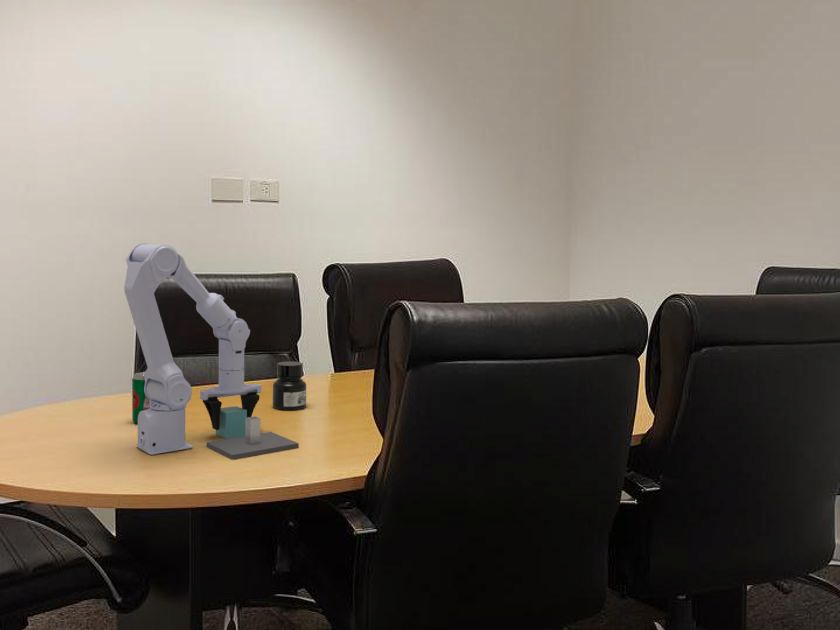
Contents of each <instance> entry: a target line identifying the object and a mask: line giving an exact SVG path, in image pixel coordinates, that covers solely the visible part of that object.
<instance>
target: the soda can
mask: <svg viewBox="0 0 840 630" xmlns="http://www.w3.org/2000/svg"><path fill="white" fill-rule="evenodd" d="M144 372H145V371H143V372H135V373H134V374H133V377H132V378H131V398H132V399H131V408H132V410H131V413H132V418H131V419H132V420H131V422H133V424H135V425H138V415H139V412H140V411H143V410H147V409H149V408H150V400H149V399H148V398H147V397H146V395H145V392H144V386H145V378H144Z"/></svg>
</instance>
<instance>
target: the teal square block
mask: <svg viewBox="0 0 840 630" xmlns="http://www.w3.org/2000/svg"><path fill="white" fill-rule="evenodd" d="M245 418H247V410H245V409H243V408H242V407H239V406H237V405H232V406H225V407H221V410H220V428H219V430H215V435H217V436H219V437H221V438H223V439H229V438H235V437H241V436H245Z"/></svg>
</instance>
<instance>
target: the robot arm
mask: <svg viewBox="0 0 840 630" xmlns="http://www.w3.org/2000/svg"><path fill="white" fill-rule="evenodd" d="M125 260H126V265H127V269H126V274H125V281H124V287H123V289H124V295H125V298H126V301H127V304H128V306H129V310H130V313H131V318H132V320H133V324H134V326H135V327H134V328H135V330H136V334H137V337H138V339H139V343H140V346H141V350H142V354H143V356H144V357H143V358H144V360H145V363H146V366H147V369H146V370H145V371H143V372H144V378H145V386H144V392H145V395H146V397H147V398H148V399H149V400H150V408H149V409H147V410H143V411H140V412H139V415H138V424H137V444H136V447H137V448H139V449H140V450H141V451H144V452H145V453H146V454H149V455H151V456H153V455H157V454H158V455H159V454H163V453H164V454H165V453H170V452H176V451H183V450H188V449H189V450H190V449H193V448H194V445H192V444H190V443H188V442H186V409H187V405H188V403H189V402H190V401H191V398H192V394H193V390H192V386H191V384H190V383H189V382H188V381H187V379H185V376H184V373H183V371H182V370H181V368H180V367H179V366H178V365H177V364H176V363H175V362H174V358H173V355H172V352H171V348H170V345H169V340H168V337H167V335H166V331H165V328H164V323H163V321H162V317H161V315H160V309H159V307H158V303H157V300H156V296H155V292H156V290H157V289H158V287H159V286H160V284H162V283H163V282H164V281H165V280H166V279H172V280H173V281H174V282H175V283H176V284H177V285H178V286H179V287H180V288H181V289H182V290H183V291H184V292H185V293H186V294H188V296H189V297H191V299H192V300H194V301H195V302H196V305H195V308H196V311H197V313H198V314H200V317H202V318H203V319H204V320H205V322H206V323H208V324H209V326H211V328H212V332H213V335H214V338H217V339H218V386H216V387H211V388H207V389H201V390H199V392H200V393H199V399H200V400H202V402H203V405H204V407H205V408H206V411H207V412H208V413H207V414H208V416H209V419H210V422H211V426H212V430H215V431H216V430H219V428H220V410H221V408H222V404H223V402H222V401H219V399H221V398H227V397H234V396H240V402H241V408H243V409H245V410H247V417H253V413H254V410H255V408H256V406H257V404H258V402H259V401H260V394H262V384H259V383H251V384H248V383H247V384H245V348H246V343H247V341H248V339H249V337H250V334H251V329H250V328H249V326H248V324H247V322H246V321H245V320H244V319H243V318H240V317H237V315H236V314H237V312H236V311H235V310H233V309H231V308H230V307H229V306H228V305H227V303H225V301H224V300H225V297H223V295H222V294H218V293H216V292H209V291H208V289H206V287H205V286H204V285H203V284H202V282H201V281H200V280H199V278H198V277H197V275H195V273H194V272H193V271H192V270H191V269H190V266H188V265H187V264H186V261H185V259H184V257H183V256H182V255H181V254H180V253H178V252H177V250H176V248H174V247H173V246H171V245H169V244H150V243H145V242H144V243H143V242H142V243H141V242H140V243H138V244H136V245H135V246H134V247H133V248H132V249H131V251H130V252H129V253H128V255H127V256H126V258H125Z"/></svg>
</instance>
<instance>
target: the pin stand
mask: <svg viewBox="0 0 840 630" xmlns="http://www.w3.org/2000/svg"><path fill="white" fill-rule="evenodd" d="M261 423H262V421H261V417H257V416H256V415H255V416H251V417H247V418H245V436H241V437H235V438H228V439H225V438H223V439H218V440H211V441H207V442H206V448H207V449H208V448H209V449H210V450H213V451H214V452H216V453H218V454H221V456H225V457H226V458H229V459H230V460H232V459H234V460H237V459H238V458H239V459H243V457H244V458H249V457H255V456H261V455H266V454H271V453H277V452H282V451H287V450H293V449H298V448H299V444H300V443H299V442H296V441H294V440H292V439H289V438H287V437H285V436H282V435H280V434H277V433H276V432H272V431H267V432H262V433H261Z"/></svg>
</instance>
